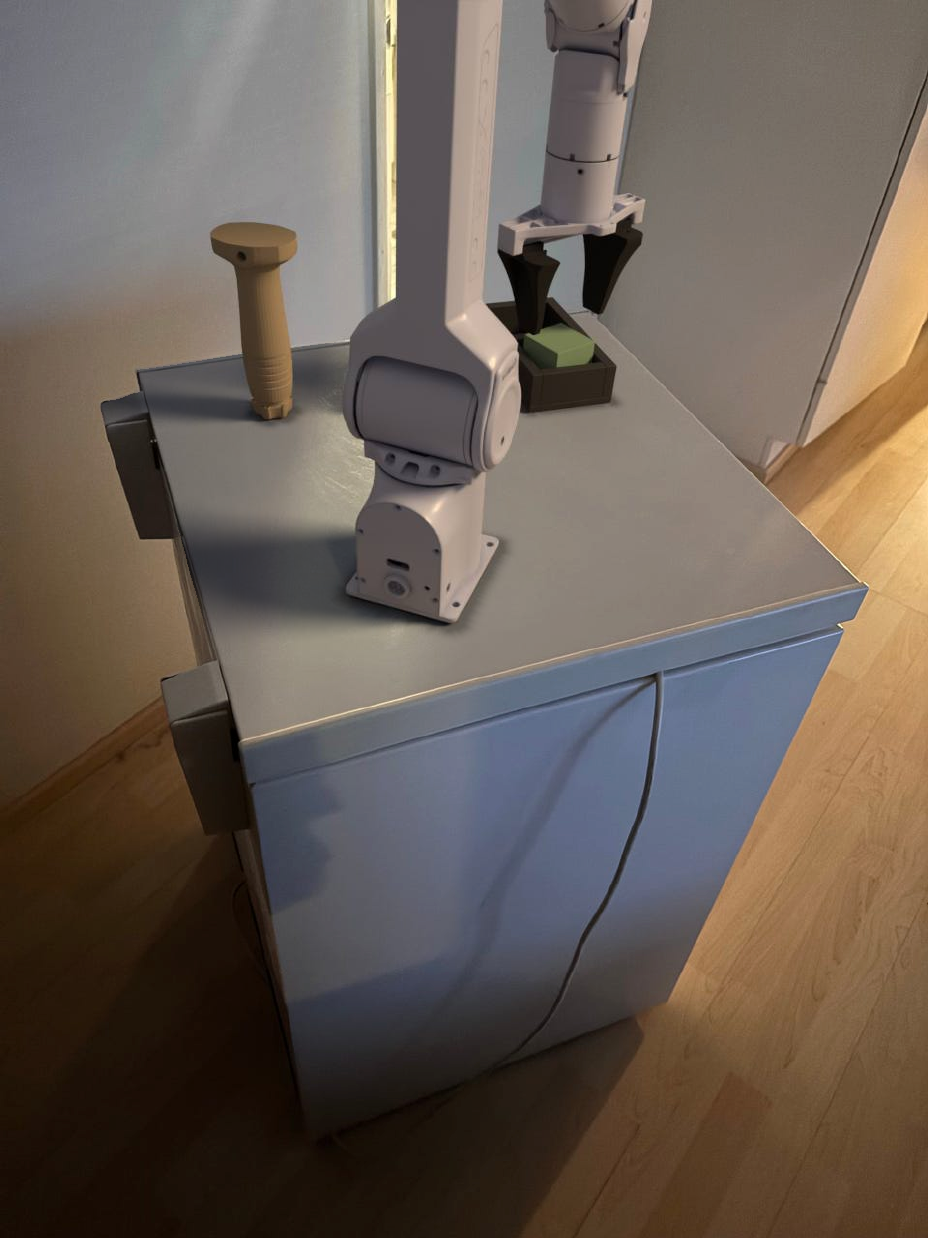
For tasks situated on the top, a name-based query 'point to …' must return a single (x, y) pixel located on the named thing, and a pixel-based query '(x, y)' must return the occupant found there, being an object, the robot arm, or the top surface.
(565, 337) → the green cube
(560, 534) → the top surface
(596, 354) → the holder
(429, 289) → the robot arm
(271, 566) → the top surface
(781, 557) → the top surface
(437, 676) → the top surface
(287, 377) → the handle
